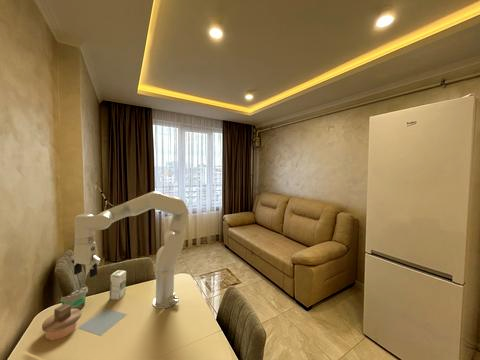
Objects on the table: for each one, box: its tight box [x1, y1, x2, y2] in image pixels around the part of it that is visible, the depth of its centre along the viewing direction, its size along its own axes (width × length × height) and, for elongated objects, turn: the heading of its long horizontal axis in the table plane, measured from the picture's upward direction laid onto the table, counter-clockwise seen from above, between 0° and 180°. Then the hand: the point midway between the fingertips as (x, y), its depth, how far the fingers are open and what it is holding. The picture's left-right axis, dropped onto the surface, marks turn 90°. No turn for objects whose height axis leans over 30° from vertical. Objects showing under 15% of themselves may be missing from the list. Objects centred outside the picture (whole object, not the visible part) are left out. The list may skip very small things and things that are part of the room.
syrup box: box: [109, 269, 127, 300], centre depth 113 cm, size 6×6×14 cm
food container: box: [59, 284, 89, 311], centre depth 102 cm, size 12×6×10 cm, turn 168°
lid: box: [41, 304, 82, 332], centre depth 88 cm, size 13×13×6 cm
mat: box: [77, 307, 128, 337], centre depth 95 cm, size 14×14×1 cm
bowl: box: [44, 319, 79, 341], centre depth 88 cm, size 10×10×5 cm
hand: (85, 274), depth 95 cm, fingers open, 9 cm apart
